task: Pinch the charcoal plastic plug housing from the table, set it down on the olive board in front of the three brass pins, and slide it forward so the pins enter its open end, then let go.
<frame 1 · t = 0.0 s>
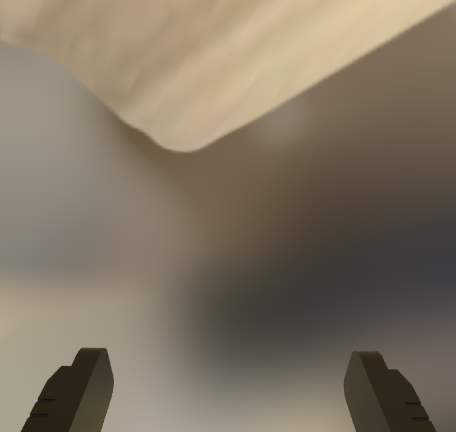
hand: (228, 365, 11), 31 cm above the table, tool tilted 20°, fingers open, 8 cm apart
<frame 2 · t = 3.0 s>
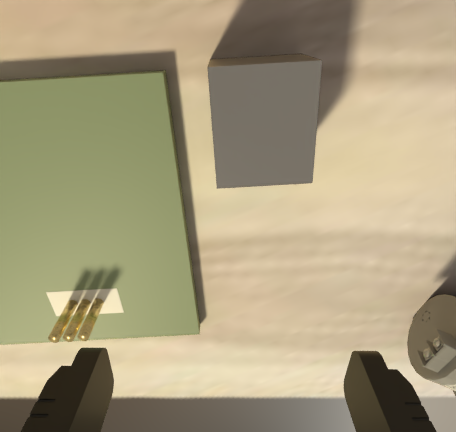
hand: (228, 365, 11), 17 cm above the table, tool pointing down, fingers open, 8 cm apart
plug housing: (256, 111, 23), on the table
header pins: (90, 293, 31), resting on board
board: (68, 231, 28), on the table
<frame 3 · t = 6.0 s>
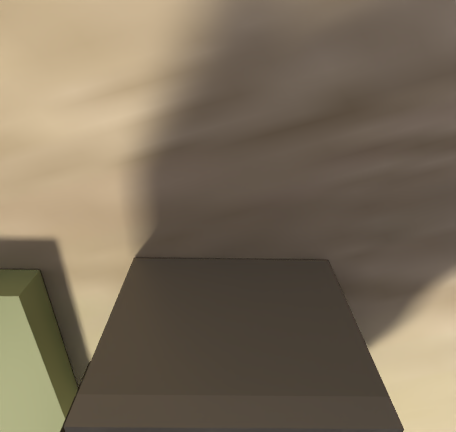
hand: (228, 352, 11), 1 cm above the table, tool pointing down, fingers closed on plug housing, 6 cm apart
plug housing: (229, 338, 12), on the table, touching gripper
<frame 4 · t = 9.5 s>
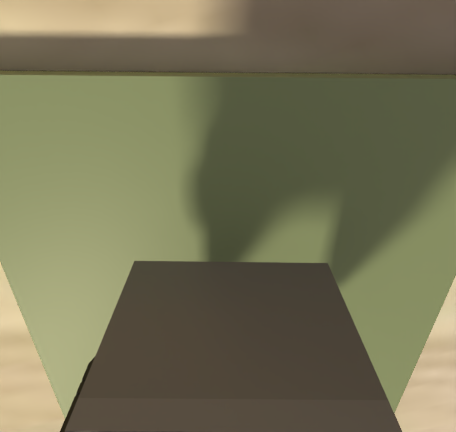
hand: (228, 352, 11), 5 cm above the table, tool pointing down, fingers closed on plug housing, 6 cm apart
plug housing: (229, 340, 12), point 4 cm above the table, touching gripper
board: (230, 316, 18), on the table
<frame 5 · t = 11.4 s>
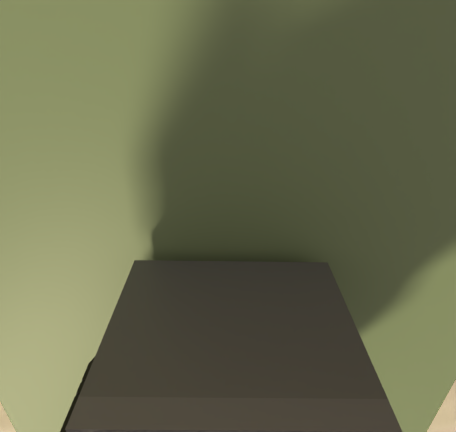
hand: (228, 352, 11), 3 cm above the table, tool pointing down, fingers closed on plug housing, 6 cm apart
plug housing: (229, 339, 12), point 2 cm above the table, touching gripper
board: (225, 253, 12), on the table
when the fingers open (2 cm above the table, at t = 12.9 s): plug housing stays where it is, resting on board.
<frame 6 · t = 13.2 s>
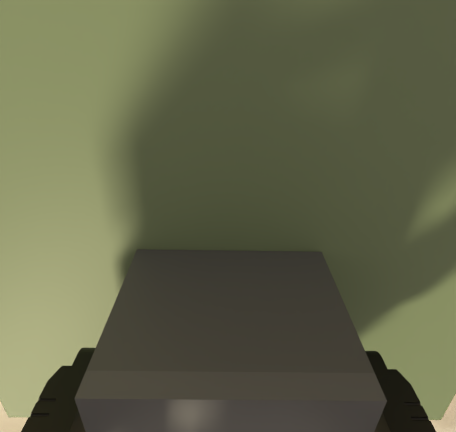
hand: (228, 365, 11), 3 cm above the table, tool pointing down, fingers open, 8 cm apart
plug housing: (227, 327, 12), point 1 cm above the table, touching board
board: (231, 162, 11), on the table
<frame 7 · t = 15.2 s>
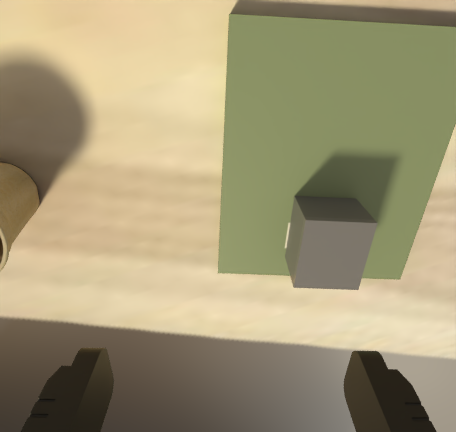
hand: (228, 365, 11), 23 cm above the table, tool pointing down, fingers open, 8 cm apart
plug housing: (319, 228, 33), point 1 cm above the table, touching board
board: (327, 167, 32), on the table
flower pot: (9, 191, 33), on the table
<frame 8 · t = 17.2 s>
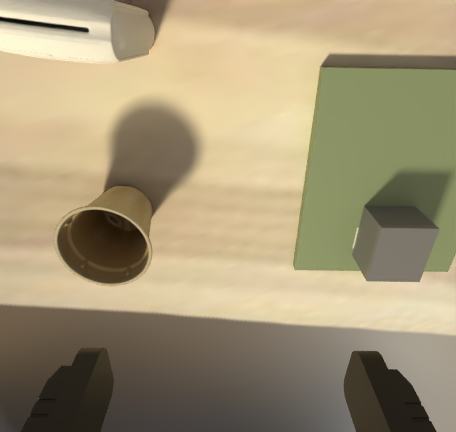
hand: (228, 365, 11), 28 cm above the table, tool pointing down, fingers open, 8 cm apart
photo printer: (100, 27, 31), on the table
plug housing: (382, 231, 40), point 1 cm above the table, touching board
board: (390, 181, 38), on the table
flower pot: (127, 208, 40), on the table
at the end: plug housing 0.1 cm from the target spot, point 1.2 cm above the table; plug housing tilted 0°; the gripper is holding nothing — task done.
